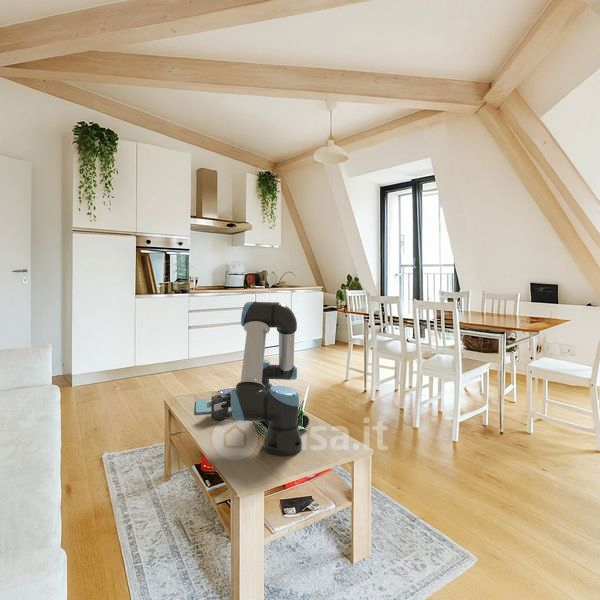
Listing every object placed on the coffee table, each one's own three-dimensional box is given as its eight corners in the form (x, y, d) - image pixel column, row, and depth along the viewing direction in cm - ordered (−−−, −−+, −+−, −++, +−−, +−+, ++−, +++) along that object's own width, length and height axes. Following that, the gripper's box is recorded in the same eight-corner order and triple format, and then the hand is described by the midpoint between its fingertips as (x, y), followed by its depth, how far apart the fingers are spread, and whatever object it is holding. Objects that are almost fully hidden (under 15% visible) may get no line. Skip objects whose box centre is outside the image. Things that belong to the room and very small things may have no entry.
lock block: (218, 420, 170) (218, 394, 169) (211, 417, 173) (211, 392, 172) (228, 416, 174) (228, 391, 174) (221, 414, 177) (221, 389, 177)
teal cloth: (221, 412, 180) (221, 410, 180) (195, 414, 177) (195, 412, 176) (219, 400, 197) (219, 398, 197) (196, 401, 194) (196, 399, 194)
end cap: (309, 429, 164) (309, 414, 164) (295, 432, 160) (296, 417, 160) (296, 421, 173) (297, 407, 172) (283, 424, 169) (284, 409, 168)
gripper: (260, 406, 182) (223, 419, 164) (235, 397, 193) (198, 409, 175) (261, 391, 181) (223, 403, 163) (236, 383, 192) (198, 393, 174)
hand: (210, 406), depth 169 cm, fingers closed on lock block, 5 cm apart
